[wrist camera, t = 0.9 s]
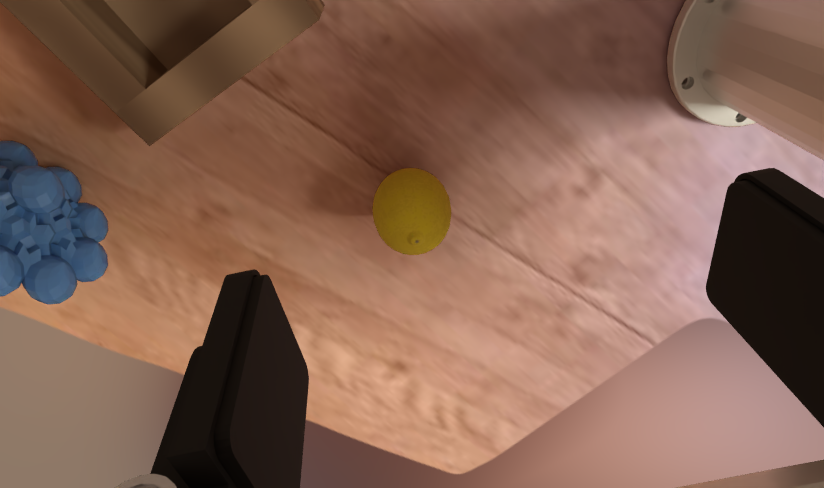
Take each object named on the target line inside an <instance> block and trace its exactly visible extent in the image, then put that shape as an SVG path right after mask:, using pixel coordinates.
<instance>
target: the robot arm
mask: <svg viewBox="0 0 824 488" xmlns="http://www.w3.org/2000/svg"><path fill="white" fill-rule="evenodd" d="M667 72H668V78H669V82H670V85H671V89H672V91H673V93H674V95H675V97H676V98H677V100H678V102H679V103H680V104H681V105H682V106H683V107H684V108H685V109H686V110H687V111H688V112H690V113H691V114H693V115H694V116H696V117H697V118H699V119H701V120H703V121H705V122H707V123H710V124H713V125H718V126H724V127H740V126H746V125H750V124H755V123H758V124H760V125H761V126H763V127H765V128H767V129H768V130H770V131H772V132H774V133H776V134H777V135H779V136H781V137H783V138H785V139H786V140H788V141H790V142H792V143H793V144H795V145H797V146H799V147H801V148H802V149H804V150H806V151H808V152H809V153H811V154H813V155H815V156H817V157H818V158H820V159H822V160H824V0H686V1H685V3H684V5H683V7H682V9H681V11H680V13H679V15H678V17H677V19H676V21H675V24H674V27H673V31H672V34H671V37H670V40H669V47H668V54H667ZM706 292H707V296H708V298H709V300H710V302H711V303H712V304H713V305H714V306H715V307H716V309H717V310H718V311H719V312H720V313H721V314H722V315H723V316H724V317H725V319H726V320H727V321H728V322H729V323H730V324H731V325H732V326H733V327H734V329H735V330H736V331H737V332H738V333H739V334H740V335H741V336H742V337H743V338H744V339H745V341H746V342H747V343H748V344H749V345H750V346H751V347H752V348H753V349H754V351H755V352H756V353H757V354H758V355H759V356H760V357H761V358H762V359H763V361H764V362H765V363H766V364H767V365H768V366H769V367H770V368H771V369H772V371H773V372H774V373H775V374H776V375H777V376H778V377H779V378H780V379H781V381H782V382H783V383H784V384H785V385H786V386H787V387H788V388H789V389H790V390H791V392H792V393H793V394H794V395H795V396H796V397H797V398H798V399H799V400H800V401H801V403H802V404H803V405H804V406H805V407H806V408H807V409H808V410H809V411H810V412H811V414H812V415H813V416H814V417H815V418H816V419H817V420H818V421H819V422H820V424H821V425H822V426H823V427H824V198H823V197H821V196H819V195H818V194H816V193H815V192H813V191H811V190H810V189H808V188H807V187H805V186H803V185H802V184H800V183H799V182H797V181H795V180H794V179H792V178H791V177H789V176H787V175H786V174H784V173H783V172H781V171H779V170H777V169H775V168H768V169H763V170H758V171H753V172H748V173H743V174H741V175H739V176H738V177H737V178H736V179H735V182H734V183H732V184H730V186H729V187H728V189H727V193H726V198H725V202H724V207H723V211H722V216H721V220H720V225H719V229H718V234H717V238H716V243H715V247H714V252H713V257H712V261H711V266H710V270H709V275H708V279H707V284H706ZM308 383H309V376H308V369H307V365H306V362H305V360H304V358H303V355H302V353H301V350H300V348H299V346H298V343H297V341H296V339H295V336H294V334H293V331H292V329H291V327H290V324H289V322H288V319H287V317H286V315H285V312H284V310H283V308H282V305H281V303H280V300H279V298H278V296H277V293H276V291H275V288H274V286H273V284H272V281H271V279H270V277H269V276H268V275H261V276H260V274H259V272H258V271H257V270H249V271H244V272H239V273H234V274H229V275H227V276H226V277H225V279H224V282H223V285H222V288H221V291H220V294H219V297H218V300H217V303H216V306H215V309H214V312H213V315H212V318H211V321H210V324H209V327H208V330H207V333H206V336H205V339H204V343H203V346H200V347H197V348H196V349H195V350H194V352H193V354H192V356H191V358H190V361H189V364H188V367H187V369H186V372H185V375H184V378H183V381H182V384H181V387H180V390H179V393H178V396H177V399H176V401H175V404H174V407H173V410H172V413H171V416H170V419H169V422H168V424H167V428H166V430H165V433H164V436H163V439H162V442H161V445H160V447H159V450H158V453H157V456H156V459H155V462H154V465H153V468H152V471H151V473H150V474H147V475H140V476H137V477H135V478H132V479H130V480H127V481H124V482H123V483H121V484H120V485H118V486H117V487H115V488H300V479H301V467H302V455H303V443H304V431H305V419H306V407H307V395H308ZM677 488H824V460H820V461H815V462H809V463H804V464H798V465H793V466H788V467H783V468H777V469H772V470H766V471H761V472H756V473H750V474H745V475H740V476H735V477H729V478H724V479H719V480H714V481H708V482H703V483H698V484H693V485H688V486H682V487H677Z"/></svg>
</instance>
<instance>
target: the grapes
mask: <svg viewBox="0 0 824 488" xmlns="http://www.w3.org/2000/svg"><path fill="white" fill-rule="evenodd" d="M81 196H82V188H81V184H80V182H79V180H78V178H77V177H76V176H75V175H74V174H73V173H72V172H71V171H69V170H67V169H64V168H61V167H47V168H44V167H41V166H38V161H37V159H36V157H35V155H34V153H33V152H32V151H31V150H30V149H29V148H28V147H27V146H25V145H24V144H21V143H18V142H15V141H0V296H5V295H7V294H9V293H10V292H12V291H14V290H16V289H17V288H19V286H20V284H21V283H22V285H23V286H24V288H25V289H26V291H27V292H28V294H29V295H30V296H31V297H32V298H34V299H35V300H37V301H40V302H43V303H45V304H58V303H61V302H63V301H65V300H66V299H68V298H69V297H71V296H72V295H73V293H74V291H75V289H76V287H77V280H78V281H81V282H88V281H94V280H96V279H98V278H99V277H101V276H103V275H104V273H105V271H106V268H107V266H108V259H107V254H106V252H105V250H104V248H103V246H101V245H100V244H99V243H98V242H100V241H101V240H103V239H104V238H105V236H106V234H107V232H108V221H107V219H106V217H105V215H104V213H103V212H102V211H101V210H100V209H99V208H98V207H96V206H95V205H92V204H89V203H78V202H79V200H80V198H81Z"/></svg>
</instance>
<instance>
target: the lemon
mask: <svg viewBox="0 0 824 488" xmlns="http://www.w3.org/2000/svg"><path fill="white" fill-rule="evenodd" d="M372 210H373V219H374V223H375V226H376V228H377V231H378V233H379V235H380V236H381V238H382V239H383V240H384V242H385V243H386V244H387V245H388V246H389V247H391V248H392V249H394V250H395V251H398V252H400V253H402V254H408V255H419V254H423V253H426V252H428V251H430V250H432V249H434V248H435V247H436V246H438V245H439V244H440V243H441V241H442V240H443V239H444V237H445V236H446V233H447V231H448V229H449V226H450V219H451V206H450V200H449V196H448V194H447V192H446V190H445V188H444V186H443V185H442V184H441V182H440V181H439V180H438V179H437V178H436V177H435V176H433V175H432V174H430V173H429V172H427V171H424V170H421V169H417V168H405V169H400V170H398V171H395V172H393V173H392V174H390V175H389V176H387V177H386V178H385V179H384V180H383V181H382V183H381V184H380V185H379V187H378V189H377V191H376V193H375V196H374V201H373V207H372Z"/></svg>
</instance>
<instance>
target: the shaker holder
mask: <svg viewBox="0 0 824 488" xmlns="http://www.w3.org/2000/svg"><path fill="white" fill-rule="evenodd" d="M0 2H1V3H2V4H3V5H4V6H5V7H6V8H7V9H8V10H9V11H10V12H11V13H12V14H13V15H14V16H15V17H16V18H17V19H18V20H19V21H20V22H21V23H22V24H23V25H25V26H26V27H27V28H28V29H29V30H30V31H31V32H32V33H33V34H34V35H35V36H36V37H37V38H38V39H39V40H40V41H41V42H42V43H43V44H44V45H45V46H46V47H47V48H48V49H49V50H50V51H51V52H52V53H54V54H55V55H56V56H57V57H58V58H59V59H60V60H61V61H62V62H63V63H64V64H65V65H66V66H67V67H68V68H69V69H70V70H71V71H72V72H73V73H74V74H75V75H76V76H77V77H78V78H79V79H80V80H81V81H83V82H84V83H85V84H86V85H87V86H88V87H89V88H90V89H91V90H92V91H93V92H94V93H95V94H96V95H97V96H98V97H99V98H100V99H101V100H102V101H103V102H104V103H105V104H106V105H107V106H108V107H109V108H110V109H112V110H113V111H114V112H115V113H116V114H117V115H118V116H119V117H120V118H121V119H122V120H123V121H124V122H125V123H126V124H127V125H128V126H129V127H130V128H131V129H132V130H133V131H134V132H135V133H136V134H137V135H138V136H139V137H141V138H142V139H143V140H144V141H145V142H146V143H147V144H148V145H149V146H150V145H152V144H153V143H154V142H156V141H157V140H158V139H160V138H161V137H162V136H164V135H165V134H166V133H168V132H169V131H170V130H172V129H173V128H174V127H176V126H177V125H179V124H180V123H181V122H183V121H184V120H185V119H187V118H188V117H189V116H191V115H192V114H193V113H195V112H196V111H197V110H199V109H200V108H201V107H203V106H204V105H205V104H207V103H208V102H209V101H211V100H212V99H213V98H215V97H216V96H217V95H219V94H220V93H222V92H223V91H224V90H226V89H227V88H228V87H230V86H231V85H232V84H234V83H235V82H236V81H238V80H239V79H240V78H242V77H243V76H244V75H246V74H247V73H248V72H250V71H251V70H252V69H254V68H255V67H256V66H258V65H259V64H260V63H262V62H263V61H265V60H266V59H267V58H269V57H270V56H271V55H273V54H274V53H275V52H277V51H278V50H279V49H281V48H282V47H283V46H285V45H286V44H287V43H289V42H290V41H291V40H293V39H294V38H295V37H297V36H298V35H299V34H301V33H302V32H303V31H305V30H306V29H308V28H309V27H310V26H312V25H313V24H314V23H316V22H317V21H318V20H319V19H320V16H321V13H322V11H323V8H324V3H323V2H322V1H321V0H0Z"/></svg>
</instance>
